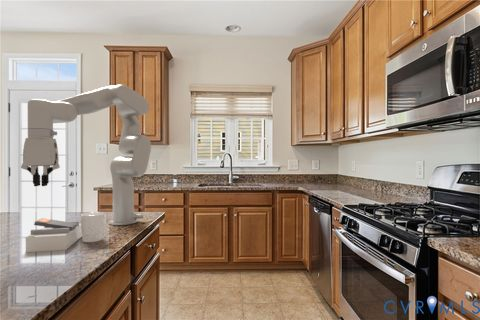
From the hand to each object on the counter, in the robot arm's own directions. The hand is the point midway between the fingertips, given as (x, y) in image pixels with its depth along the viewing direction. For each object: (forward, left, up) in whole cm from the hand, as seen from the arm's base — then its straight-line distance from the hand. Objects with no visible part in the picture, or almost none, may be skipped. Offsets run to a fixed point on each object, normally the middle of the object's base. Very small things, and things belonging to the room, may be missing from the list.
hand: (40, 185), depth 106 cm
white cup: (-16, -2, -21) cm, 27 cm away
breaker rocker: (-5, 0, -14) cm, 15 cm away
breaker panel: (-5, 0, -21) cm, 22 cm away
